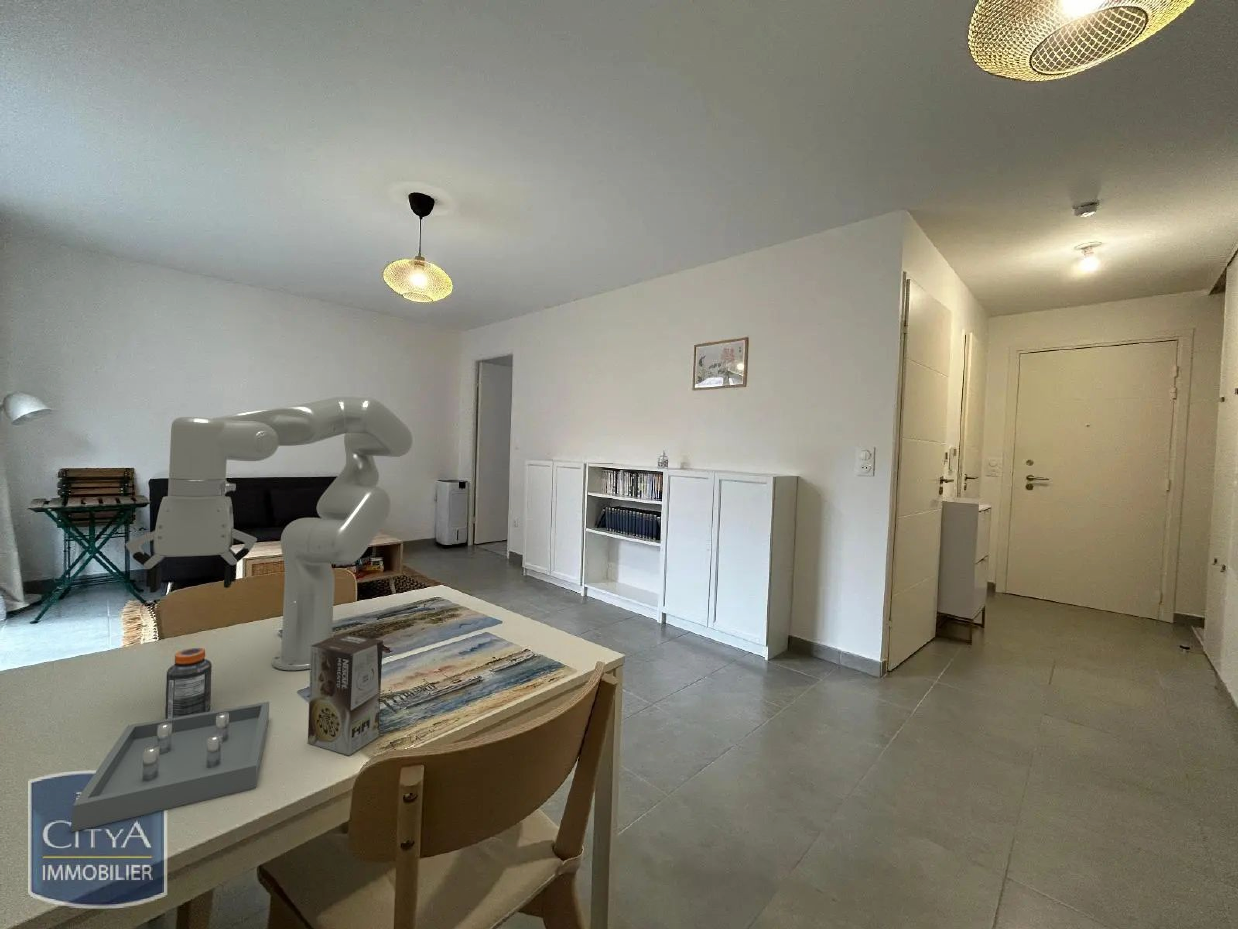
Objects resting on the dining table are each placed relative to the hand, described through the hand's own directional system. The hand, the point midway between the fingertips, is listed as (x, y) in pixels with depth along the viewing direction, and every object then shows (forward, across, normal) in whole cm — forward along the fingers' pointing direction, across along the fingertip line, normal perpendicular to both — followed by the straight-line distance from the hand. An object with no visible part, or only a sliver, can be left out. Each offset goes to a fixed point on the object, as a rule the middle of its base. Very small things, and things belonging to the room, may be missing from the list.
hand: (192, 588), depth 86 cm
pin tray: (+22, -3, +17) cm, 28 cm away
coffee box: (+22, -23, +19) cm, 37 cm away
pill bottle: (+22, 0, 0) cm, 23 cm away
